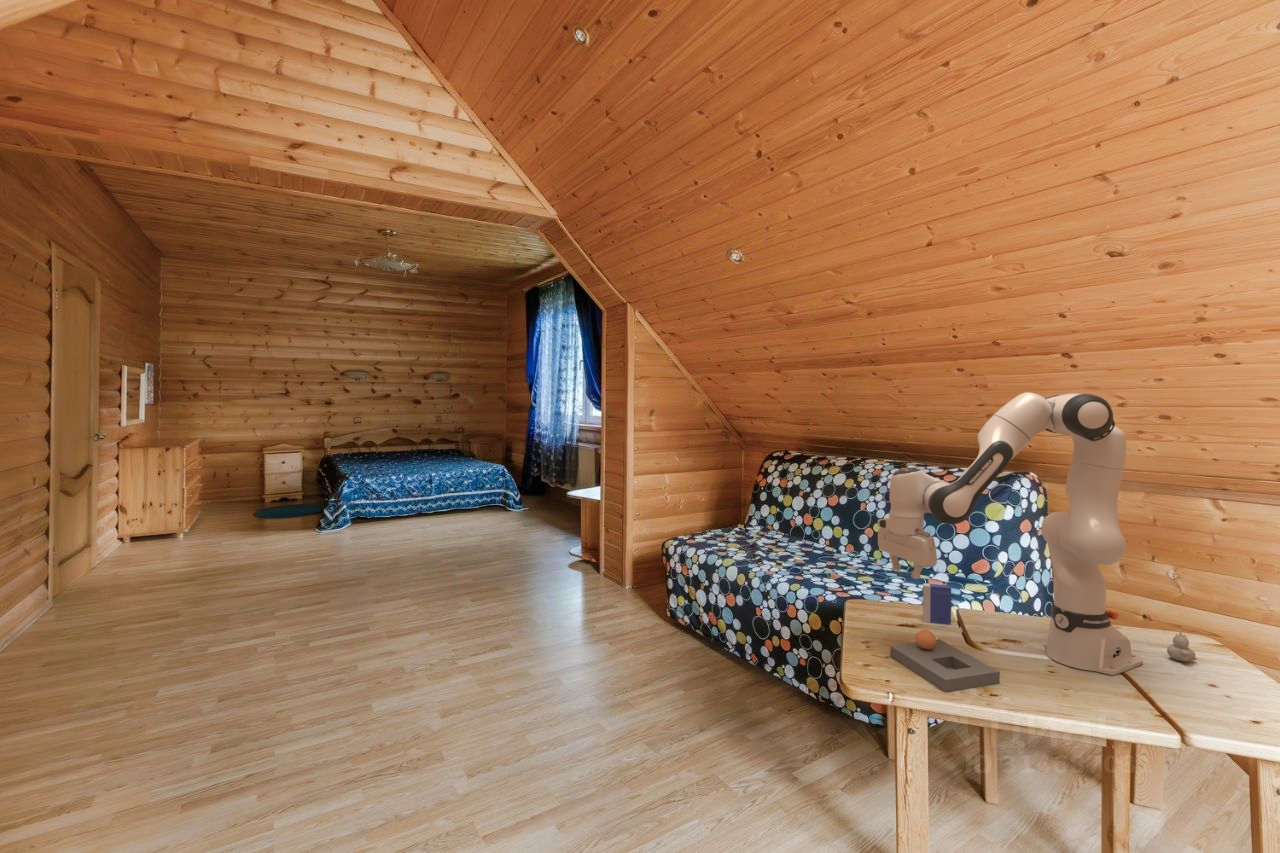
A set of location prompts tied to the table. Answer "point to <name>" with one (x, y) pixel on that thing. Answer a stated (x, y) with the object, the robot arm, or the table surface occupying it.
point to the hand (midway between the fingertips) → (905, 574)
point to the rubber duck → (1180, 649)
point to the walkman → (936, 603)
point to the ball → (925, 639)
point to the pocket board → (945, 666)
